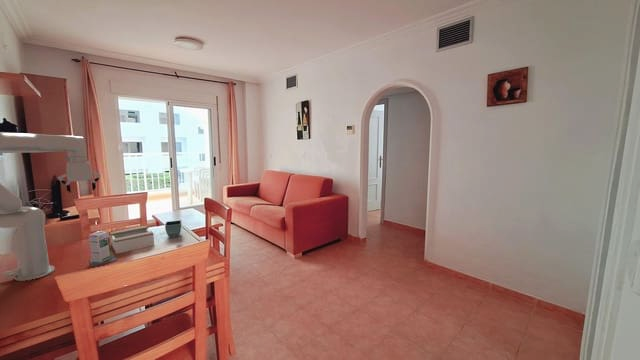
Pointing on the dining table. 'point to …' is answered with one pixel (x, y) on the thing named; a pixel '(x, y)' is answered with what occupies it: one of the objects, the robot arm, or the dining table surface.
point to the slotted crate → (131, 239)
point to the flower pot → (173, 228)
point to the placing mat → (103, 261)
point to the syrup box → (100, 246)
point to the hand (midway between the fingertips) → (82, 191)
